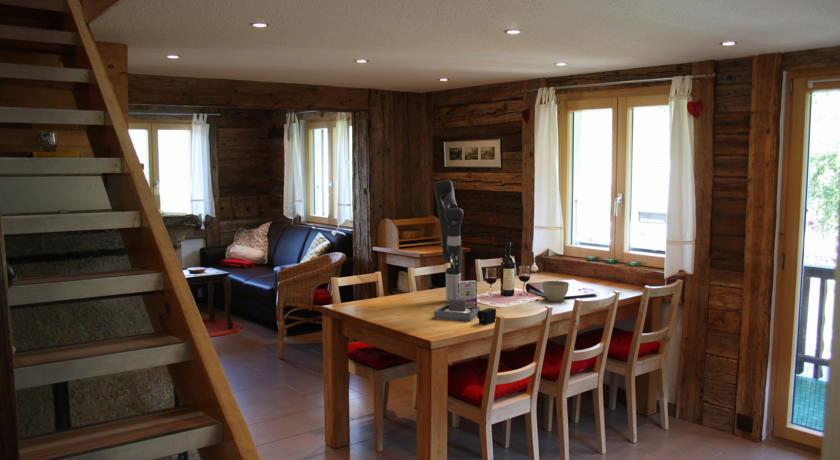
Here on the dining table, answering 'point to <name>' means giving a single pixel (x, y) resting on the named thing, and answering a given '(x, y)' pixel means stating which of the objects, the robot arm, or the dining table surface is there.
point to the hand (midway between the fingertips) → (454, 273)
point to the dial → (457, 306)
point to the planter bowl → (555, 290)
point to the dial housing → (456, 314)
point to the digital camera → (486, 316)
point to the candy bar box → (467, 292)
